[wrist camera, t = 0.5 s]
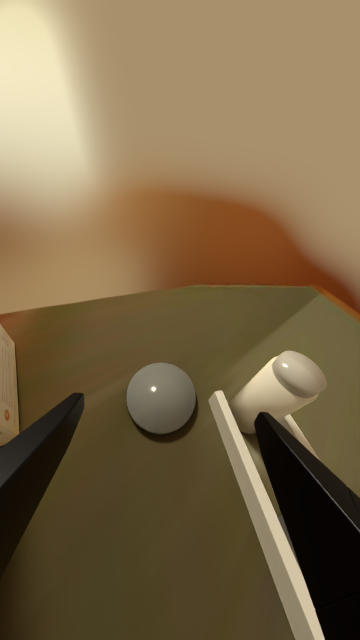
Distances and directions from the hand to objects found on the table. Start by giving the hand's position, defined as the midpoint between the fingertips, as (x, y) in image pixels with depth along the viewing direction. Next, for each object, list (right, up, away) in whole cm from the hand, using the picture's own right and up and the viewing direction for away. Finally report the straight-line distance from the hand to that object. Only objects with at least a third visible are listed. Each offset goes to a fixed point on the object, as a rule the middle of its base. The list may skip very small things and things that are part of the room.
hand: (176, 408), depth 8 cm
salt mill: (+10, -10, +17) cm, 22 cm away
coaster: (-3, -7, +17) cm, 18 cm away
